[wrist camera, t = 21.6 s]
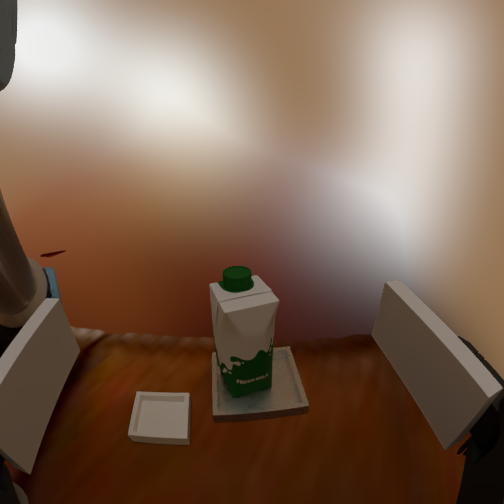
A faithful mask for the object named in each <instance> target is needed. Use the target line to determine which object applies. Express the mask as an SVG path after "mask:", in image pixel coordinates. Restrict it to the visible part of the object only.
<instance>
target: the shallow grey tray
mask: <svg viewBox="0 0 504 504" xmlns="http://www.w3.org/2000/svg"><path fill="white" fill-rule="evenodd" d="M212 395H213V418H214V422H233V421H247V420H258V419H268V418H276V417H284V416H291V415H297V414H304V413H307V412H308V408H309V404H308V401H307V398H306V395H305V392H304V389H303V386H302V383H301V379H300V376H299V373H298V370H297V367H296V364H295V361H294V358H293V355H292V352H291V349H290V346H289V347H279V348H273V362H272V387H269V388H266V389H263V390H260V391H256V392H253V393H249V394H246V395H242V396H239V397H235V398H233V397H232V395H231V393H230V391H229V388H228V386H227V384H226V382H225V380H224V377H223V375H222V373H221V370H220V367H219V364H218V362H217V357H216V352H212Z"/></svg>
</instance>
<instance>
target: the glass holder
mask: <svg viewBox="0 0 504 504" xmlns="http://www.w3.org/2000/svg"><path fill="white" fill-rule="evenodd" d="M13 485H14V488H15V491H16V494H17V496H18V499H19V501H20V504H29V502H28V499H27V496H26V494H25V492H24V491H23V490H22V488H21V487H20V486H18V485H17V484H15V483H14V482H13Z"/></svg>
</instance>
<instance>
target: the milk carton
mask: <svg viewBox="0 0 504 504" xmlns="http://www.w3.org/2000/svg"><path fill="white" fill-rule="evenodd" d="M210 297H211V309H212V321H213V330H214V341H215V350H216V357H217V362H218V364H219V367H220V370H221V373H222V375H223V377H224V380H225V382H226V384H227V386H228V388H229V391H230V393H231V395H232V397H233V398H235V397H239V396H242V395H246V394H249V393H253V392H256V391H260V390H263V389H266V388H269V387H272V362H273V344H274V325H275V315H276V311H277V308H278V304H279V300H278V298H277V297H276V296H275V295H274V294H273V293H272V290H271V289H270V288H269V287H268V286H267V285H266V284H265V283H264V282H263V281H262V280H261V279H260V278H259V277H258V276H257V275H256V276H251V270H250V269H249V268H247V267H243V266H232V267H229V268H226V269H225V270H224V271H223V281H220V282H218V283H212V284H210Z"/></svg>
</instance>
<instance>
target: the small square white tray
mask: <svg viewBox="0 0 504 504" xmlns="http://www.w3.org/2000/svg"><path fill="white" fill-rule="evenodd" d="M190 419H191V397H190V394H189V393H158V392H137V393H136V398H135V402H134V407H133V411H132V416H131V421H130V426H129V431H128V436H129V437H130V439H131V440H132V441H134V442H144V443H157V444H175V445H190Z"/></svg>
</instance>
